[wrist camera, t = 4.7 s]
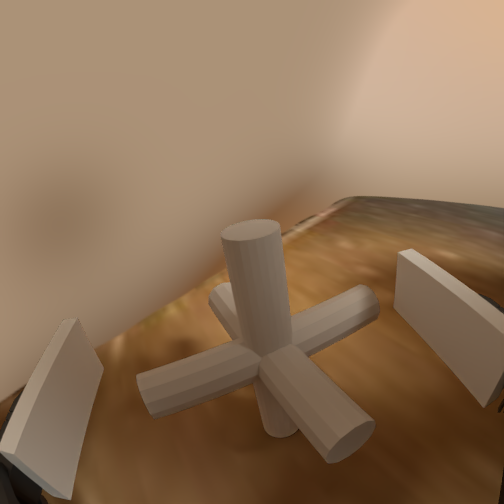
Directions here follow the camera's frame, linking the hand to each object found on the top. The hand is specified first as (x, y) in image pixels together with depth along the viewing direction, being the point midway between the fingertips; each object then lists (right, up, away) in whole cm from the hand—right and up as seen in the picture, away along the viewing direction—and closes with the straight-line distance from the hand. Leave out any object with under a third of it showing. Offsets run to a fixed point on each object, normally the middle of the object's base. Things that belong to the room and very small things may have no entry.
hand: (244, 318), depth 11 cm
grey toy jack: (+2, -6, +2) cm, 7 cm away
